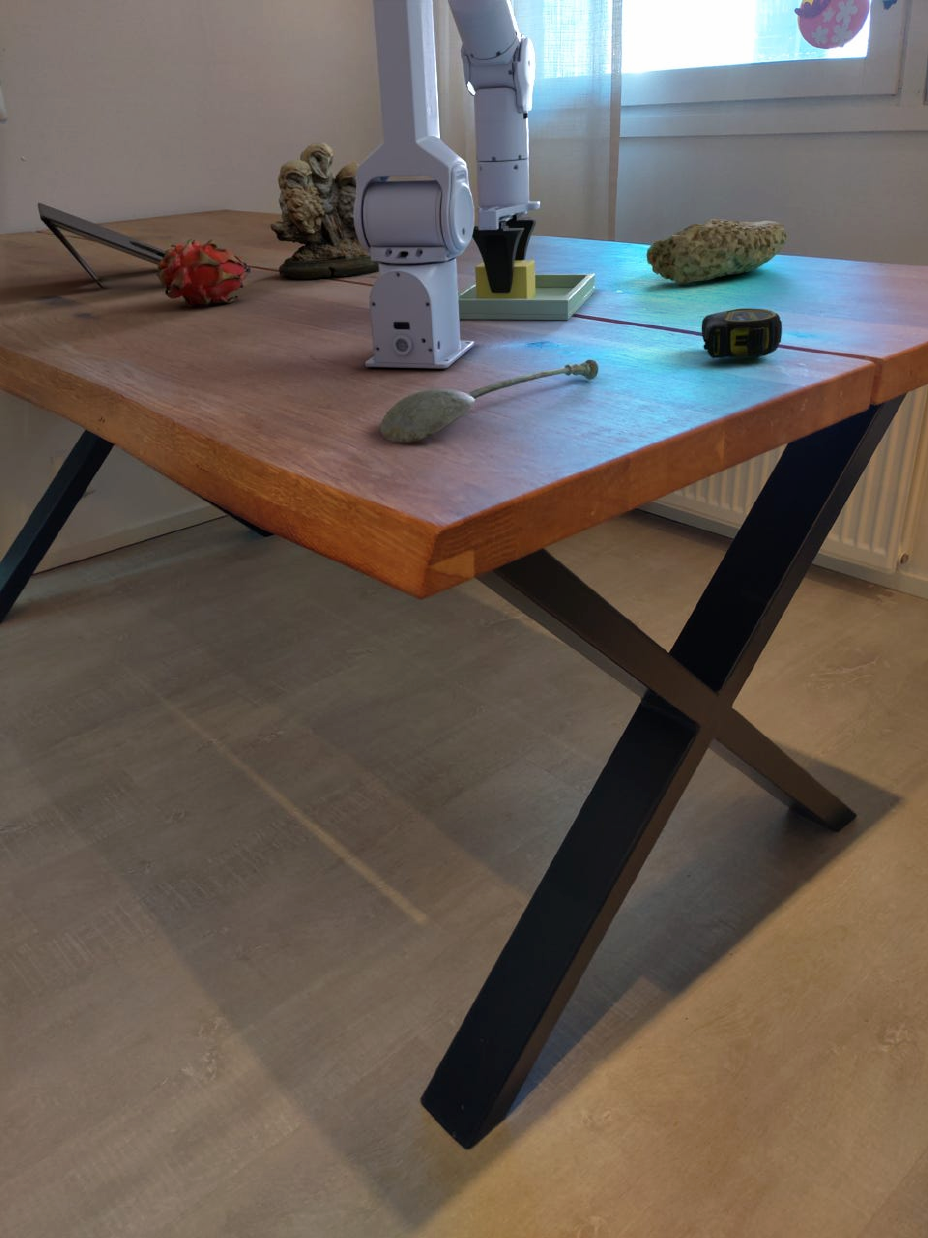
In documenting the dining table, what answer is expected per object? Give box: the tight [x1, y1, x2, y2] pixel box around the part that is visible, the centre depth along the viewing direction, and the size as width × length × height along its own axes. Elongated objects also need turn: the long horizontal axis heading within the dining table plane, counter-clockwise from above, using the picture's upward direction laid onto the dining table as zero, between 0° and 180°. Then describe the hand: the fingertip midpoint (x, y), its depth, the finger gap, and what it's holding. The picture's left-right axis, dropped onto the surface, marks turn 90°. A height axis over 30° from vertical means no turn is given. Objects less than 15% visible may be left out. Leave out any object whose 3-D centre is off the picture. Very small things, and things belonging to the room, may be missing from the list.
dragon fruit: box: [156, 238, 251, 308], centre depth 126 cm, size 8×8×12 cm
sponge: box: [646, 218, 787, 285], centre depth 126 cm, size 13×8×20 cm
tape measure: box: [701, 307, 783, 359], centre depth 89 cm, size 7×7×4 cm
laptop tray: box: [37, 202, 166, 289], centre depth 146 cm, size 23×23×9 cm
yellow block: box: [474, 259, 536, 299], centre depth 116 cm, size 4×6×4 cm
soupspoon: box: [379, 359, 599, 444], centre depth 79 cm, size 22×3×7 cm
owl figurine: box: [269, 141, 379, 280], centre depth 142 cm, size 18×12×17 cm, turn 125°
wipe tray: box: [458, 273, 596, 321], centre depth 116 cm, size 17×14×2 cm
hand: (506, 288), depth 116 cm, fingers closed on yellow block, 4 cm apart
